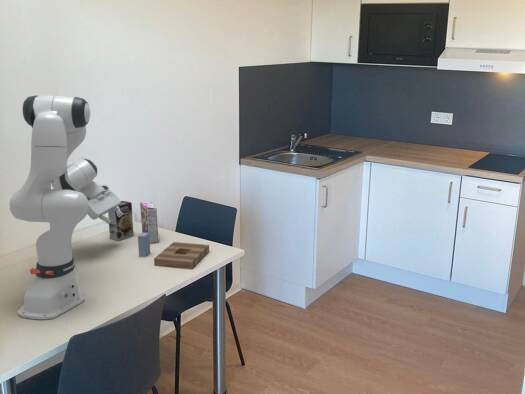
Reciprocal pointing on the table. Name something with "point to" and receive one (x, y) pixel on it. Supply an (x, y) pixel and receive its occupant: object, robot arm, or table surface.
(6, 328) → the table surface
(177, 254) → the walnut block
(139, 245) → the grey post
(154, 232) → the candy bar box
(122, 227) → the coffee box
